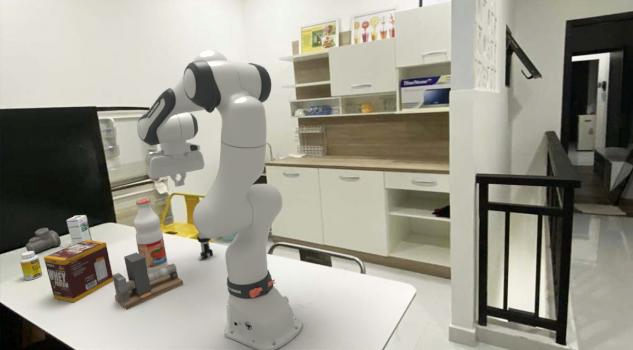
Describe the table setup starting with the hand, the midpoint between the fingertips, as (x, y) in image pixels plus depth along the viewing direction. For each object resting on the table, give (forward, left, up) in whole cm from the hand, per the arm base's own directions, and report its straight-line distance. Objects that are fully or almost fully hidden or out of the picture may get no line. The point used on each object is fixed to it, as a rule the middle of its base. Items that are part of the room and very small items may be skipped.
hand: (179, 185), depth 129 cm
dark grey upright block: (-4, +21, -31) cm, 38 cm away
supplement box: (+18, +32, -33) cm, 50 cm away
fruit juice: (+13, +9, -33) cm, 37 cm away
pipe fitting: (+78, +33, -33) cm, 91 cm away
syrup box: (+67, +20, -33) cm, 77 cm away
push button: (+4, -8, -33) cm, 34 cm away
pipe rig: (-4, +18, -33) cm, 38 cm away
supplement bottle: (+47, +42, -33) cm, 71 cm away
